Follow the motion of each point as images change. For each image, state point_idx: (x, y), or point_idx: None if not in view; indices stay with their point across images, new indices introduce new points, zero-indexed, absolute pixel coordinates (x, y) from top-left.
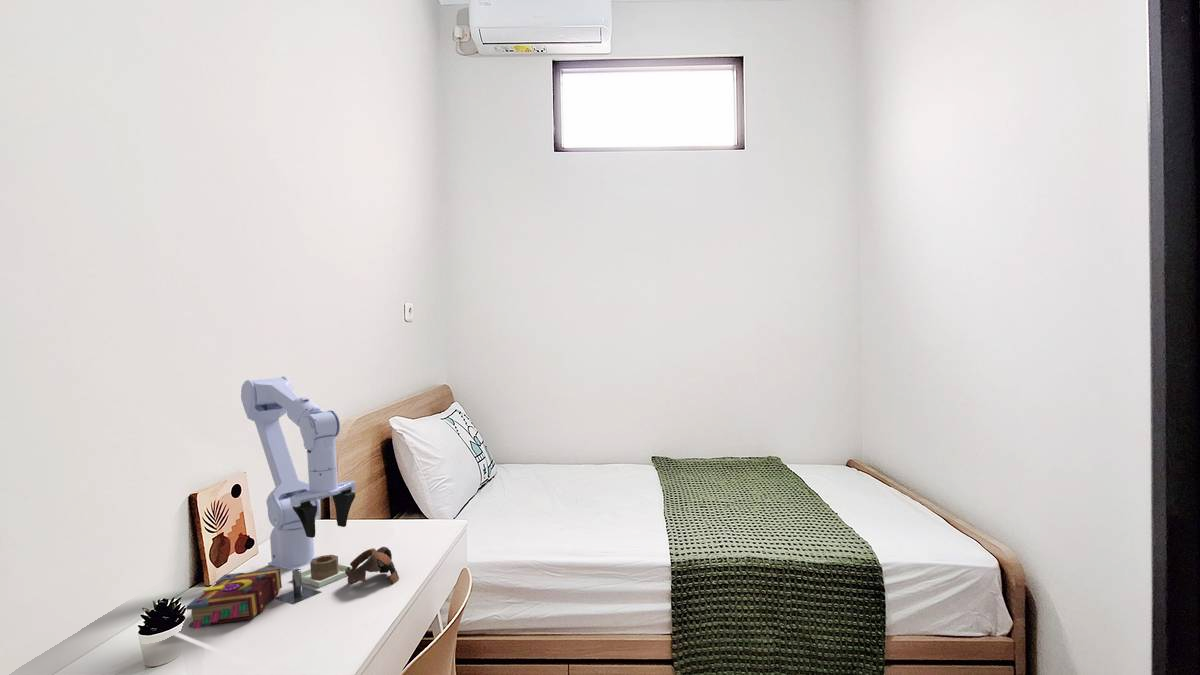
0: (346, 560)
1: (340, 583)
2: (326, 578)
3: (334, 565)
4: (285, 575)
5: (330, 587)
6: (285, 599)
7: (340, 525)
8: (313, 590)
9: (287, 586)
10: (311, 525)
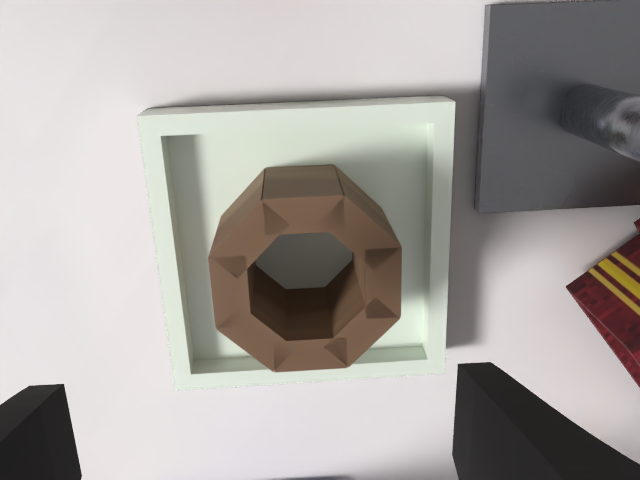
0: (53, 383)
1: (307, 67)
2: (382, 124)
3: (282, 186)
4: (384, 469)
5: (382, 67)
6: None
7: (70, 440)
8: (496, 88)
9: (484, 323)
10: (584, 434)
